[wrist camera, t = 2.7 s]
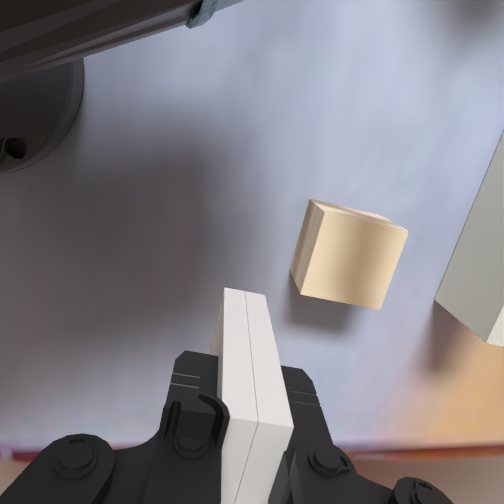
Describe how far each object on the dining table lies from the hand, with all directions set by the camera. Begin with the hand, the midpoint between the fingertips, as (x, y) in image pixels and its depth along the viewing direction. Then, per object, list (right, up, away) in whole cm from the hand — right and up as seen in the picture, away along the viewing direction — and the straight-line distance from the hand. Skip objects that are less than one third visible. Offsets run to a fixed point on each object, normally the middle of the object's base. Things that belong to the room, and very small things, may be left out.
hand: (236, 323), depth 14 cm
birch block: (+7, +3, +17) cm, 19 cm away
